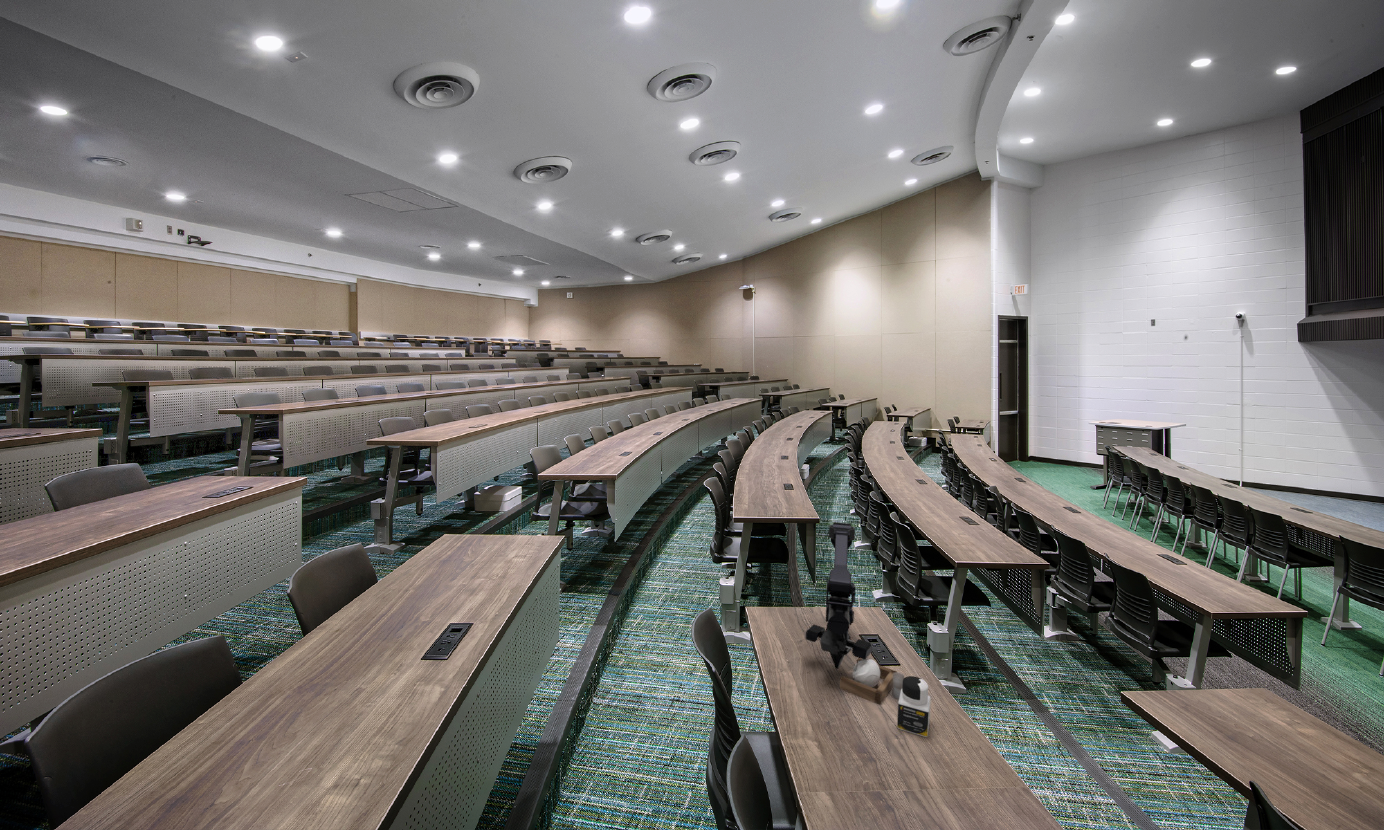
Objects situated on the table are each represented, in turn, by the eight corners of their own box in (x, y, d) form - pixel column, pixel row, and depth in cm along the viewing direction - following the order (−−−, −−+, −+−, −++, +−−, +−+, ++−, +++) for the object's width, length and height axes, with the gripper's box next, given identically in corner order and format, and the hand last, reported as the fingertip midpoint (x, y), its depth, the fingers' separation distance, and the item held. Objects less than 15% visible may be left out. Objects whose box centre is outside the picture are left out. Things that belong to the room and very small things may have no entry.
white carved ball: (852, 674, 157) (853, 650, 157) (879, 680, 155) (880, 655, 154) (851, 689, 150) (852, 663, 149) (879, 695, 147) (880, 669, 147)
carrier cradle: (858, 667, 162) (858, 648, 161) (910, 686, 152) (911, 666, 152) (839, 688, 151) (840, 668, 150) (895, 710, 141) (896, 689, 141)
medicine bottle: (896, 728, 134) (898, 683, 133) (900, 712, 140) (902, 669, 139) (927, 738, 131) (929, 692, 130) (929, 721, 137) (931, 677, 136)
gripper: (798, 619, 156) (796, 668, 158) (860, 639, 145) (857, 692, 147) (814, 605, 165) (812, 653, 167) (873, 623, 154) (871, 674, 155)
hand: (837, 667), depth 159 cm, fingers closed
